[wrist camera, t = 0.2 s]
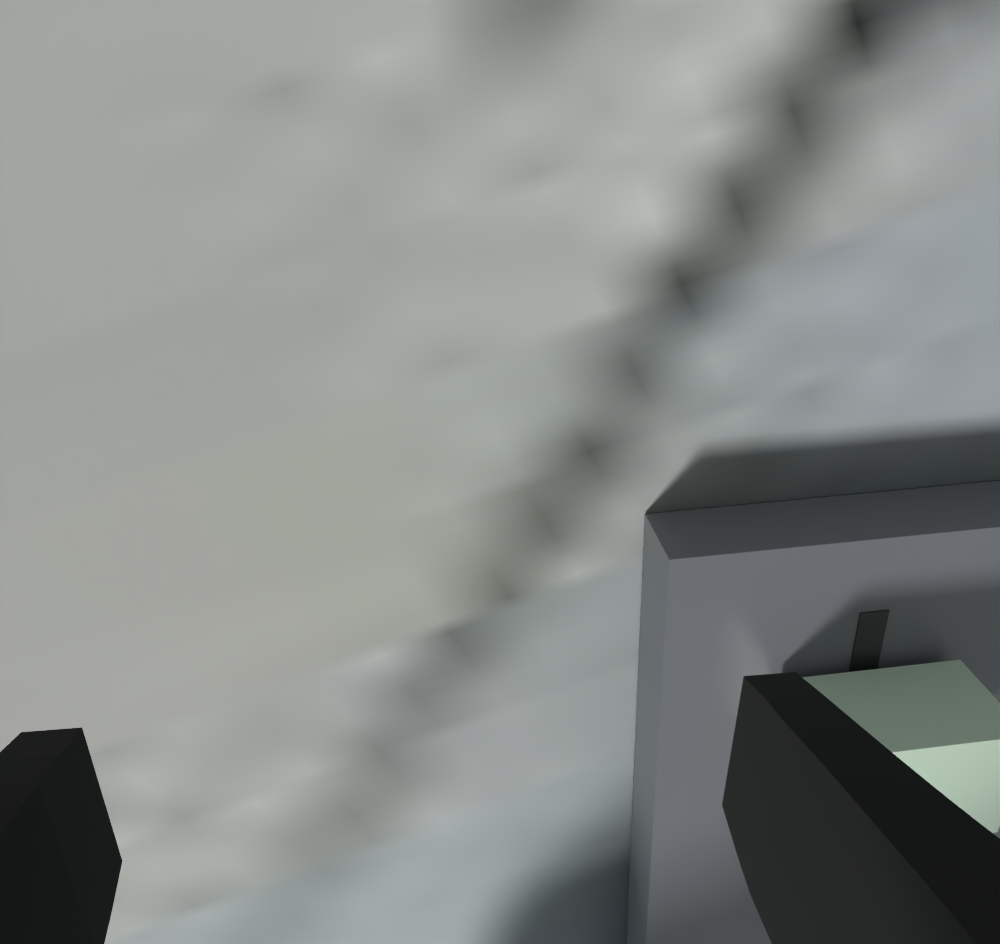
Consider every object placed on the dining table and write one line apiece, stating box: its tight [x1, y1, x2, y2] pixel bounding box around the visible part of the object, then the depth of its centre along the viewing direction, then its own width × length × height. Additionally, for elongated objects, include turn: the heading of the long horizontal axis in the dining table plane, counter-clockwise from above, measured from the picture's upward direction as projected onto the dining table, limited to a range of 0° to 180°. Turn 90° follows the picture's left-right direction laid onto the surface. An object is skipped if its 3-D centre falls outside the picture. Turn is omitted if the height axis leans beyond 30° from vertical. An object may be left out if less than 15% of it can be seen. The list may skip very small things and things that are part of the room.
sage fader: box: [802, 660, 1000, 833], centre depth 20 cm, size 3×4×2 cm, turn 93°
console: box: [626, 481, 1000, 944], centre depth 24 cm, size 18×18×2 cm
